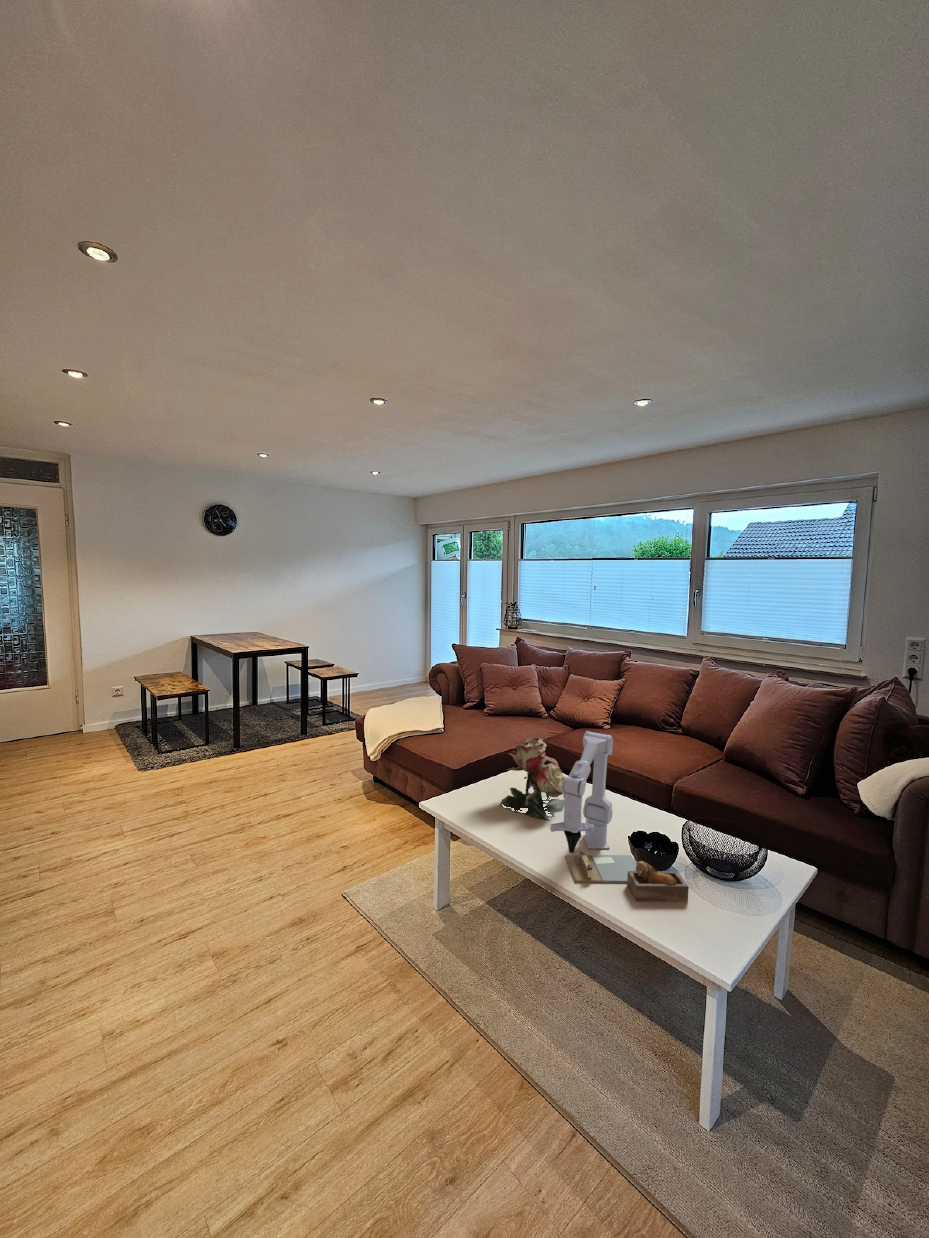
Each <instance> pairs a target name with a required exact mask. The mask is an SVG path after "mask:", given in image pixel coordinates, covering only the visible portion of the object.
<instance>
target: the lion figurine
mask: <svg viewBox="0 0 929 1238" xmlns="http://www.w3.org/2000/svg"><path fill="white" fill-rule="evenodd" d="M657 871H658V870H656V869H655V867H653V865H650V864H649V863H647V862H646V861H643V860H639V861H638V862H636V872H637V874H638V876H640V877H642V879H643V880H644V881H647V883H648V884H653V882H654V883H656V884H670V885H673V884H676V885H677V883H676V881H675V880H674V878H673V877H672V876H671V875H669V874H663V873H659V872H657ZM676 900H677V895H676V894H675V899H674V901H676ZM674 901H673V902H674Z"/></svg>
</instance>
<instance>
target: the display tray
mask: <svg viewBox="0 0 929 1238" xmlns="http://www.w3.org/2000/svg"><path fill="white" fill-rule="evenodd" d="M656 871H657V872H659V873H663V874H669V875H671V876H672V877H673V878H674V880H675V881H676V883H677V885H676V884H673V885H670V884H656V883H654V882H653V884H648V883H647V881H644V880H643V879H642V877H640V876H638V874H637V872H636V871H628V879H627V883H626V885H627V887H628V890H629V891H630V893H631V895H632V896H633V898H634V900H635V902H676V903H677V902H681V903H682V902H686V903H687V902H689V890H690V889H689V888H690V887H689V885H688V884H687V882H686V881H685V879H684V878H683V877H682V876H681V874H680V873H679V872H678V871H676V870H675V871H673V870H672V871H671V870H666V871H665V870H662V871H660V870H656ZM675 894H676V895H677V900H676V901H674V899H675Z"/></svg>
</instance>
